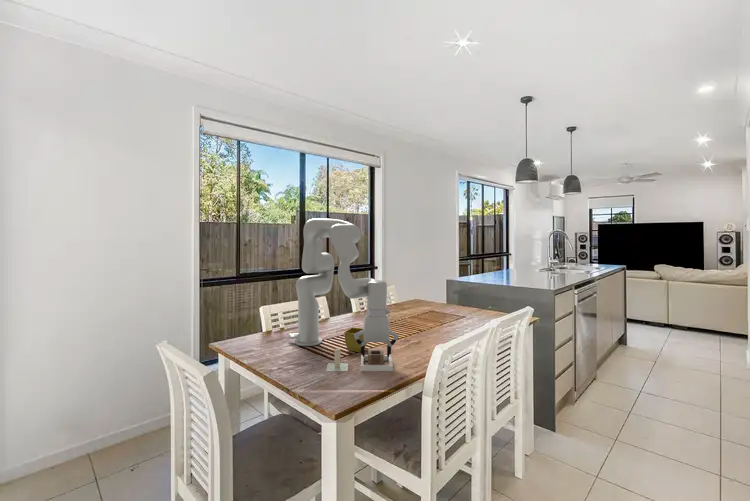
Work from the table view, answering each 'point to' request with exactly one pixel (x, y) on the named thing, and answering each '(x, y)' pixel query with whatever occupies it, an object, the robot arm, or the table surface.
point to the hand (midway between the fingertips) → (375, 355)
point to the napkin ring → (375, 357)
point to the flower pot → (353, 339)
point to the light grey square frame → (377, 367)
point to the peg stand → (337, 363)
